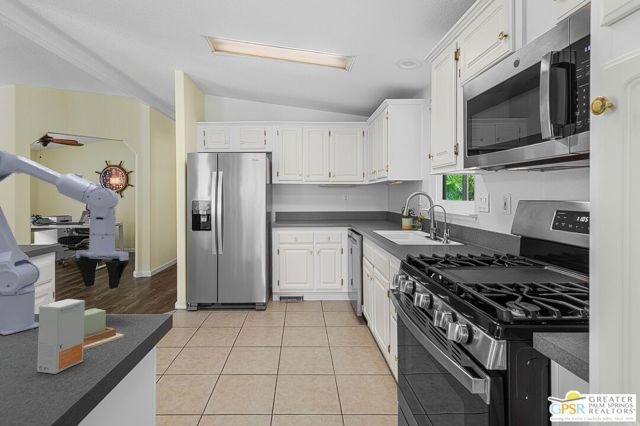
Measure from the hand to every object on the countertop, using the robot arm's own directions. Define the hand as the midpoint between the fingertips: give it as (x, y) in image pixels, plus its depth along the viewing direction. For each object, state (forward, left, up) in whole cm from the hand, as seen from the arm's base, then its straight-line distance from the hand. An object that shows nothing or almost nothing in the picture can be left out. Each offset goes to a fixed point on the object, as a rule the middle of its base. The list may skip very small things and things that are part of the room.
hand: (101, 287), depth 93 cm
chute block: (+10, -10, -9) cm, 16 cm away
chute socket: (+9, -10, -9) cm, 16 cm away
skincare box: (+18, -20, -10) cm, 29 cm away
